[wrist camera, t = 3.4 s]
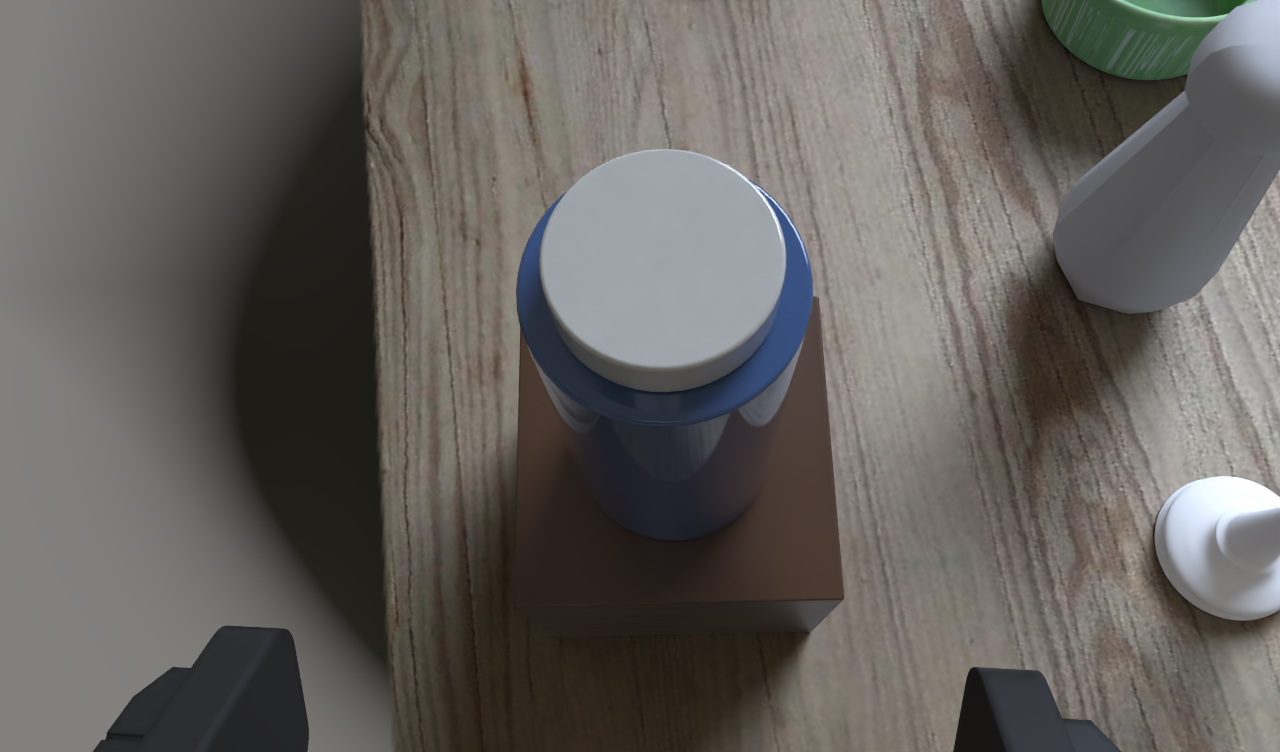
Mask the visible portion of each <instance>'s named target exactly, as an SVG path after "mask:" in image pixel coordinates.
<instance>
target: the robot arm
mask: <svg viewBox="0 0 1280 752" xmlns="http://www.w3.org/2000/svg"><path fill="white" fill-rule="evenodd" d="M308 741H309V727H308V720H307V714H306V708H305V702H304V697H303V691H302V685H301V679H300V673H299V668H298V661H297V656H296V650H295V644H294V640H293V637H292V635H291V633H290V632H289V631H288V630H287V629H279V628H261V627H242V626H224V627H221V628H220V629H219V630H218V631H217V632H216V633H215V634H214V635H213V637H212V638H211V640H210V641H209V643H208V644H207V646H206V647H205V648H204V650H203V651H202V653H201V654H200V656H199V657H198V659H197V660H196V661H195V663H194V664H193V666H192V667H191V668H178V667H172V668H171V669H170V670H168V671H167V672H166V673H164V674H163V675H162V676H160V677H159V678H158V679H156V680H155V681H154V682H152V683H151V684H150V685H148V686H147V687H146V688H144V689H143V690H142V691H141V692H139V693H138V694H136V695H135V696H134V697H133V698H132V699H131V701H130V702H129V703H128V705H127V706H126V707H125V709H124V710H123V711H122V713H121V714H120V715H119V717H118V718H117V720H116V721H115V722H114V724H113V725H112V726H111V728H110V729H109V730H108V732H107V737H106V739H105V740H101V741H100V743H99V744H98V745H97V747H96V748H95V750H94V751H93V752H307V750H308ZM953 752H1121V751H1120V750H1119V749H1118V748H1117V747H1116V746H1115V745H1114V744H1113V743H1112V742H1111V741H1110V739H1109V738H1108V737H1107V736H1106V735H1105V734H1104V733H1103V732H1102V731H1101V730H1100V729H1099V728H1098V727H1097V726H1096V725H1095V724H1094V723H1093V722H1092V721H1091V720H1075V719H1062V717H1061V715H1060V712H1059V710H1058V708H1057V705H1056V703H1055V700H1054V698H1053V696H1052V693H1051V691H1050V688H1049V686H1048V684H1047V681H1046V679H1045V677H1044V676H1043V674H1042V673H1041V672H1040V671H1036V670H1017V669H998V668H979V667H973V668H971V669H970V671H969V673H968V676H967V680H966V685H965V690H964V696H963V701H962V707H961V712H960V718H959V723H958V729H957V734H956V740H955V745H954V751H953Z"/></svg>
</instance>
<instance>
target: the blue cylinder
mask: <svg viewBox="0 0 1280 752" xmlns="http://www.w3.org/2000/svg"><path fill="white" fill-rule="evenodd" d="M516 299H517V311H518V316H519V322H520V326H521V329H522V332H523V335H524V338H525V341H526V344H527V346H528V349H529V351H530V353H531V356H532V358H533V361H534V363H535V366H536V368H537V371H538V373H539V376H540V378H541V381H542V383H543V386H544V388H545V390H546V393H547V395H548V398H549V400H550V403H551V405H552V408H553V410H554V413H555V415H556V418H557V420H558V423H559V425H560V427H561V430H562V432H563V435H564V437H565V440H566V442H567V445H568V447H569V450H570V452H571V455H572V457H573V460H574V462H575V464H576V467H577V469H578V472H579V474H580V477H581V479H582V482H583V484H584V486H585V488H586V490H587V492H588V494H589V495H590V497H591V498H592V499H593V501H594V502H595V504H596V505H597V506H598V507H599V508H600V509H601V510H602V511H603V513H604V514H606V515H607V516H608V517H609V518H610V519H612V520H613V521H614V522H615V523H617V524H619V525H620V526H622V527H623V528H625V529H627V530H629V531H631V532H633V533H636V534H638V535H641V536H645V537H648V538H652V539H658V540H668V541H679V540H690V539H694V538H698V537H703V536H705V535H708V534H711V533H713V532H716V531H718V530H719V529H721V528H723V527H725V526H727V525H728V524H730V523H731V522H732V521H734V520H735V519H737V518H738V517H739V516H740V515H741V514H742V513H743V512H744V511H745V510H746V509H747V508H748V507H749V506H750V504H751V503H752V502H753V501H754V499H755V498H756V496H757V495H758V493H759V491H760V490H761V488H762V486H763V483H764V481H765V479H766V476H767V472H768V469H769V465H770V462H771V458H772V455H773V451H774V447H775V444H776V440H777V436H778V433H779V429H780V425H781V422H782V418H783V415H784V411H785V407H786V404H787V400H788V396H789V393H790V389H791V385H792V382H793V378H794V375H795V371H796V367H797V364H798V360H799V356H800V353H801V349H802V345H803V342H804V338H805V334H806V331H807V327H808V324H809V320H810V316H811V310H812V302H813V278H812V271H811V265H810V260H809V257H808V254H807V251H806V247H805V245H804V243H803V240H802V238H801V236H800V234H799V232H798V230H797V228H796V227H795V225H794V224H793V222H792V220H791V219H790V217H789V216H788V214H787V213H786V212H785V211H784V210H783V209H782V207H781V206H780V205H779V204H778V203H777V202H776V201H775V200H774V199H773V198H772V197H771V196H770V195H769V194H768V193H767V192H765V191H764V190H763V189H762V188H761V187H759V186H758V185H756V184H755V183H753V182H752V181H751V180H749V179H748V178H746V177H745V176H744V175H742V174H741V173H739V172H738V171H737V170H735V169H734V168H732V167H730V166H728V165H727V164H725V163H723V162H721V161H719V160H716V159H714V158H711V157H708V156H706V155H702V154H698V153H694V152H690V151H683V150H676V149H655V150H645V151H639V152H635V153H630V154H627V155H624V156H621V157H618V158H615V159H612V160H610V161H608V162H606V163H604V164H602V165H600V166H598V167H597V168H595V169H593V170H592V171H590V172H589V173H587V174H586V175H585V176H583V177H582V178H581V179H580V180H578V181H577V182H576V183H575V184H574V185H573V186H572V187H571V188H570V189H569V190H568V191H567V192H566V193H564V194H563V195H562V196H561V197H560V198H559V199H558V200H557V201H556V202H555V203H554V204H553V205H552V206H551V207H550V208H549V209H548V210H547V212H546V213H545V214H544V216H543V217H542V218H541V220H540V221H539V222H538V224H537V225H536V227H535V229H534V231H533V233H532V234H531V236H530V238H529V240H528V242H527V245H526V247H525V250H524V252H523V255H522V258H521V262H520V266H519V271H518V277H517V287H516Z"/></svg>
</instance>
